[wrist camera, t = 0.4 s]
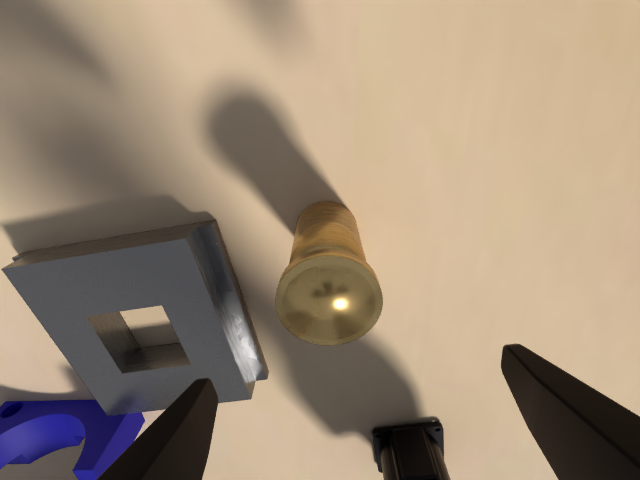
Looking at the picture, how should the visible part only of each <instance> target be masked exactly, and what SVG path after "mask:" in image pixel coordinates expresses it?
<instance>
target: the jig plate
mask: <svg viewBox="0 0 640 480" xmlns="http://www.w3.org/2000/svg"><path fill="white" fill-rule="evenodd" d="M12 259H13V260H14V262H13V263H11V264H9V265H8V266H6V267H4V268H2V271H3V272H4V273H5V275H6V276H7V277H8V279H9V280H10V282H11V283H12V284H13V286H14V287H15V288H16V290H17V291H18V293H19V294H20V295H21V297H22V298H23V300H24V301H25V302H26V304H27V305H28V306H29V308H30V309H31V311H32V312H33V313H34V315H35V316H36V318H37V319H38V320H39V322H40V323H41V324H42V326H43V327H44V329H45V330H46V331H47V333H48V334H49V336H50V337H51V338H52V340H53V341H54V342H55V344H56V345H57V347H58V348H59V349H60V351H61V352H62V353H63V355H64V356H65V358H66V359H67V360H68V362H69V363H70V365H71V366H72V367H73V369H74V370H75V371H76V373H77V374H78V376H79V377H80V378H81V380H82V381H83V383H84V384H85V385H86V387H87V388H88V389H89V391H90V392H91V394H92V395H93V396H94V398H95V399H96V400H97V402H98V403H99V405H100V406H101V407H102V409H103V410H104V412H105V413H106V414H107V416H113V415H121V414H130V413H138V412H147V411H155V410H164V409H167V408H168V407H169V406H170V405H171V404H172V403H173V402H174V401H175V400H176V399H177V398H178V397H179V396H180V395H181V394H182V393H183V392H184V391H185V390H186V389H187V388H188V387H189V386H190V385H191V384H192V383H193V382H194V381H195V380H196V379H201V378H209V379H211V381H212V383H213V386H214V388H215V390H216V393H217V395H218V403H223V402H232V401H240V400H249V399H251V398H252V394H253V389H254V385H255V381H257V380H265V379H267V378H268V373H269V370H268V368H267V365H266V362H265V359H264V356H263V353H262V350H261V347H260V345H259V342H258V339H257V336H256V333H255V330H254V327H253V325H252V322H251V319H250V316H249V313H248V310H247V307H246V304H245V302H244V299H243V296H242V293H241V290H240V287H239V284H238V281H237V279H236V276H235V273H234V270H233V267H232V264H231V261H230V259H229V256H228V253H227V250H226V247H225V244H224V241H223V238H222V236H221V233H220V230H219V227H218V224H217V221H216V220H211V221H205V222H199V223H194V224H188V225H182V226H176V227H170V228H164V229H158V230H152V231H146V232H140V233H134V234H129V235H123V236H117V237H111V238H105V239H99V240H93V241H87V242H81V243H75V244H69V245H64V246H58V247H52V248H46V249H40V250H34V251H28V252H22V253H20V254H19V255H17V256H15V257H13V258H12ZM160 305H162V306H163V308H164V310H165V312H166V314H167V316H168V318H169V320H170V323H171V325H172V327H173V329H174V331H175V333H176V335H177V337H178V339H179V341H180V343H176V344H168V345H161V346H154V347H146V348H140V347H139V346H138V344H137V342H136V340H135V339H134V337H133V335H132V333H131V332H130V330H129V328H128V326H127V325H126V323H125V321H124V320H123V318H122V316H121V314H120V313H119V311H126V310H132V309H139V308H146V307H153V306H160Z"/></svg>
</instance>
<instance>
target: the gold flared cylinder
mask: <svg viewBox="0 0 640 480" xmlns="http://www.w3.org/2000/svg"><path fill="white" fill-rule="evenodd" d="M275 305H276V311H277V314H278V317H279V319H280V321H281V322H282V324H283V325H284V326H285V328H286V329H287V330H288V331H289V332H291V333H292V334H293V335H295V336H296V337H298V338H300V339H302V340H304V341H307V342H310V343H313V344H318V345H339V344H344V343H348V342H351V341H353V340H356V339H358V338H359V337H361V336H363V335H364V334H366V333H367V332H368V331H369V330H370V329H371V328H372V327H373V326H374V325H375V323H376V322H377V320H378V318H379V316H380V314H381V311H382V305H383V297H382V292H381V288H380V285H379V282H378V279H377V276H376V274H375V272H374V271H373V269H372V268H371V267H370V265H369V264H367V263H366V259H365V255H364V251H363V247H362V244H361V240H360V236H359V232H358V228H357V224H356V221H355V218H354V216H353V215H352V213H351V212H350V211H349V210H348V209H347V208H346V207H344V206H343V205H341V204H338V203H335V202H330V201H324V202H318V203H315V204H313V205H311V206H309V207H308V208H306V209H305V210H304V211H303V213H302V214H301V215H300V217H299V219H298V222H297V226H296V232H295V237H294V242H293V247H292V252H291V257H290V263H289V265H288V267H287V268H286V269H285V270H284V272H283V273H282V276H281V278H280V281H279V284H278V288H277V293H276V299H275Z"/></svg>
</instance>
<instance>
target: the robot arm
mask: <svg viewBox="0 0 640 480" xmlns="http://www.w3.org/2000/svg"><path fill="white" fill-rule="evenodd" d="M501 369H502V373H503V375H504V377H505V379H506V382H507V384H508V386H509V388H510V390H511V392H512V394H513V397H514V399H515V401H516V403H517V405H518V407H519V410H520V412H521V414H522V416H523V418H524V420H525V422H526V424H527V426H528V428H529V430H530V432H531V433H532V435H533V437H534V439H535V440H536V442H537V444H538V445H539V447H540V449H541V450H542V452H543V454H544V456H545V457H546V459H547V461H548V462H549V464H550V466H551V467H552V469H553V471H554V473H555V474H556V476H557V478H558V479H559V480H640V416H638V415H636V414H635V413H633V412H631V411H630V410H628V409H626V408H625V407H623V406H622V405H620V404H618V403H617V402H615V401H613V400H612V399H610V398H608V397H607V396H605V395H603V394H602V393H600V392H598V391H597V390H595V389H593V388H592V387H590V386H588V385H587V384H585V383H583V382H582V381H580V380H579V379H577V378H575V377H574V376H572V375H570V374H569V373H567V372H565V371H564V370H562V369H560V368H559V367H557V366H555V365H554V364H552V363H550V362H549V361H547V360H545V359H544V358H542V357H541V356H539V355H537V354H536V353H534V352H532V351H531V350H529V349H527V348H526V347H524V346H522V345H520V344H509V345H504V347H503V350H502V360H501ZM217 406H218V395H217V393H216V390H215V388H214V386H213V383H212V381H211V379H209V378H201V379H196V380H195V381H194V382H193V383H192V384H191V385H190V386H189V387H188V388H187V389H186V390H185V391H184V392H183V393H182V394H181V395H180V396H179V397H178V398H177V399H176V400H175V401H174V402H173V403H172V404H171V405H170V406H169V407H168V408H167V409H166V410H165V411H164V412H163V413H162V414H161V415H160V416H159V417H158V418H157V419H156V420H155V421H154V422H153V423H152V424H151V425H150V426H149V427H148V428H147V429H146V430H145V431H144V432H143V433H142V434H141V435H140V436H139V437H138V438H137V439H136V440H135V441H134V442H133V443H132V444H131V445H130V446H129V447H128V448H127V449H126V450H125V451H124V452H123V453H122V454H121V455H120V456H119V457H118V458H117V459H116V460H115V461H114V462H113V463H112V464H111V465H110V466H109V467H108V468H107V469H106V470H105V471H104V472H103V473H102V474H101V475H100V476H99V477H98V478H97V479H96V480H202V477H203V473H204V469H205V466H206V462H207V458H208V454H209V449H210V444H211V439H212V433H213V428H214V422H215V417H216V411H217ZM372 435H373V442H374V447H375V453H376V459H377V465H378V471H379V472H381V473H383V477H384V480H450V477H449V474H448V471H447V468H446V465H445V462H444V439H443V427H442V424H441V423H439V422H433V423H424V424H414V425H405V426H395V427H386V428H377V429H374V430H373V431H372Z"/></svg>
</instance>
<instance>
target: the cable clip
mask: <svg viewBox="0 0 640 480" xmlns="http://www.w3.org/2000/svg"><path fill="white" fill-rule="evenodd" d="M144 422H145V419H144V417H143V415H142V412H138V413H130V414H121V415H113V416H107V414H106V413H105V412H104V410H103V409H102V407H101V406H100V405H99V403H98V402H97V400H57V401H7V402H5V403H4V404H3V405H2V406H1V407H0V469H1V468H2V467H4V466H5V465H6V464H30V463H32V462H33V461H35V460H37V459H39V458H40V457H42V456H44V455H46V454H49V453H51V452H53V451H56V450H59V449H62V448H65V447H70V446H79V445H80V443H81V442H82V440H83V439H84V437H85V438H86V439H85V444H84V448H83V451H82V453H81V456H80V458H79V460H78V462H77V464H76V465H75V467H74V469H73V470H72V471H73V472H74V474H75V475H76V477H77V478H78V480H96V479H97V478H98V477H99V476H100V475H101V474H102V473H103V472H104V471H105V470H106V469H107V468H108V467H109V466H110V465H111V464H112V463H113V462H114V461H115V460H116V459H117V458H118V457H119V456H120V455H121V454H122V453H123V452H124V451H125V450H126V449H127V448H128V447H129V446H130V445H131V444H132V443H133V442H134V440H135V438H136V436H137V435H138V433H139V431H140V429H141V427H142V425H143V423H144Z"/></svg>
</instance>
